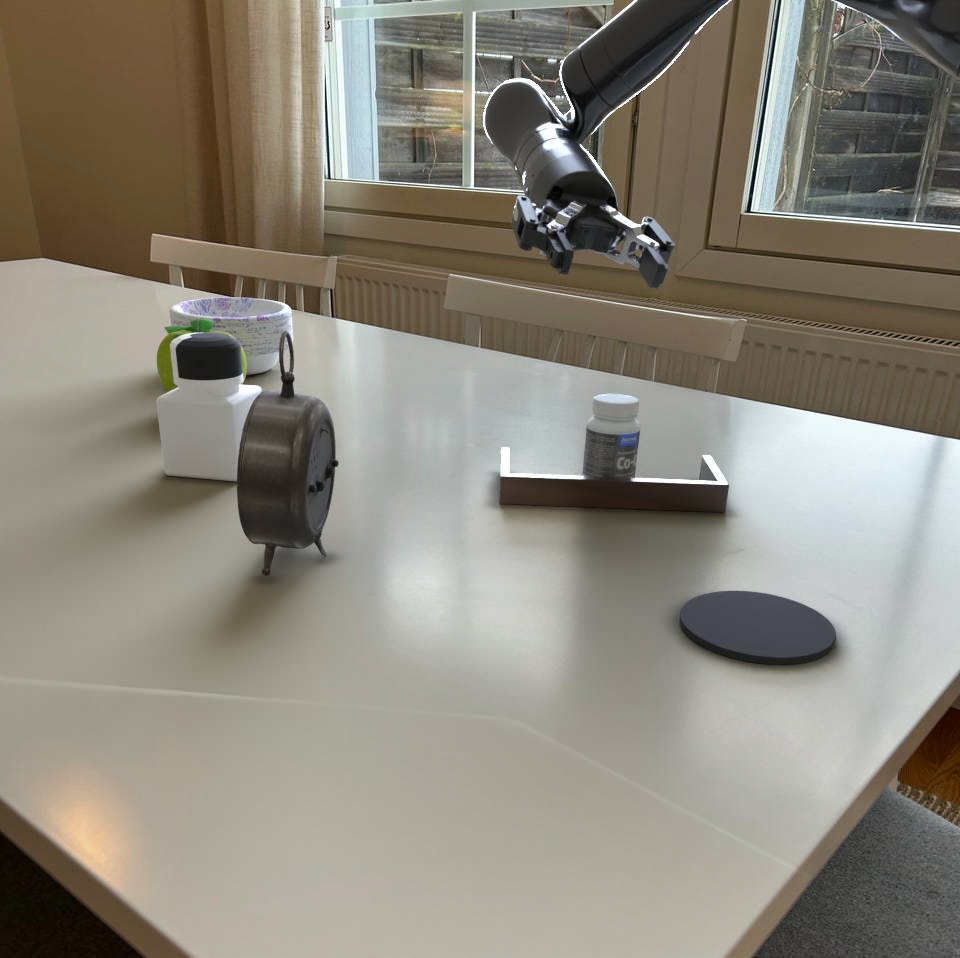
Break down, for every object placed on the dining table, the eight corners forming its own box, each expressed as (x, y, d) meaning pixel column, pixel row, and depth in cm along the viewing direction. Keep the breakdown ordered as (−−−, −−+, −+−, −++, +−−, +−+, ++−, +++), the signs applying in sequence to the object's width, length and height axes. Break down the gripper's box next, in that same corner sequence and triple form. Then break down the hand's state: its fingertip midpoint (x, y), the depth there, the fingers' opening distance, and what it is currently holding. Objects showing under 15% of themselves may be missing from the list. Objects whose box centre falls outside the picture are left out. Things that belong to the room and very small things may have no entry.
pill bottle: (621, 502, 86) (631, 407, 83) (572, 492, 88) (580, 399, 85) (641, 488, 90) (651, 396, 86) (593, 479, 92) (601, 389, 88)
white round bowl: (237, 387, 120) (232, 320, 116) (150, 370, 127) (142, 305, 123) (318, 367, 131) (316, 305, 128) (235, 352, 138) (230, 292, 135)
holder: (499, 473, 93) (500, 447, 92) (707, 481, 93) (710, 455, 92) (499, 503, 85) (500, 476, 84) (725, 512, 85) (729, 485, 84)
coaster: (730, 584, 71) (731, 578, 71) (861, 631, 65) (863, 624, 65) (649, 626, 65) (650, 619, 65) (786, 681, 59) (788, 674, 58)
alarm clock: (282, 527, 79) (269, 316, 71) (349, 531, 78) (342, 320, 71) (238, 581, 69) (218, 344, 61) (314, 587, 69) (302, 349, 61)
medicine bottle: (267, 460, 94) (258, 331, 89) (238, 482, 88) (226, 345, 82) (197, 454, 95) (184, 326, 90) (163, 476, 89) (147, 339, 83)
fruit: (146, 418, 106) (134, 322, 101) (191, 399, 114) (181, 309, 109) (223, 427, 104) (214, 329, 99) (263, 406, 112) (257, 315, 107)
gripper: (506, 140, 90) (547, 215, 79) (647, 166, 94) (704, 241, 84) (487, 220, 95) (523, 301, 84) (621, 242, 100) (672, 322, 89)
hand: (613, 271), depth 84 cm, fingers open, 8 cm apart
